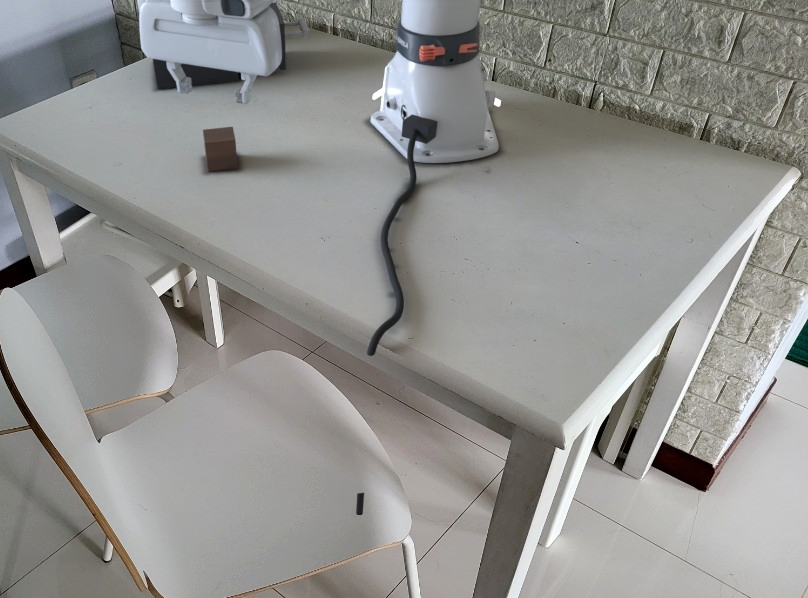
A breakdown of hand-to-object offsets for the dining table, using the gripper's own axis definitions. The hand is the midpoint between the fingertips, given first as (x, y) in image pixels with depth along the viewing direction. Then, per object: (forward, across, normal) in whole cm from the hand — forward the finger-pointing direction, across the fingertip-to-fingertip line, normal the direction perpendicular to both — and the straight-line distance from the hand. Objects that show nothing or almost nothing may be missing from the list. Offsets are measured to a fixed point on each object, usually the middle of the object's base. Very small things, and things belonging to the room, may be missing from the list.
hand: (214, 97), depth 103 cm
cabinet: (+10, -21, +29) cm, 37 cm away
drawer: (+9, -11, +35) cm, 38 cm away
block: (+10, 0, 0) cm, 10 cm away
